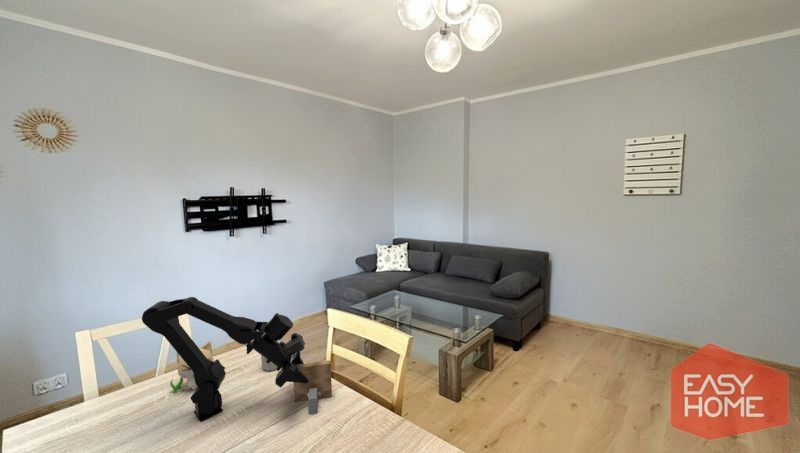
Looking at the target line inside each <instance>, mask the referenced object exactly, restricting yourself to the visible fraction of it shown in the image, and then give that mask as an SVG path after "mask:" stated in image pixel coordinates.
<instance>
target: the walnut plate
mask: <svg viewBox="0 0 800 453" xmlns="http://www.w3.org/2000/svg"><path fill="white" fill-rule="evenodd" d="M331 364H332V362H331V360H321V361H314V362H306V363H305V362H304V364H298V370H299V371H300V372H301V373H302V374H303V375H304V376H305V377H306V378H307V379H308V380H309V381H308V382H307V383H298V382H293V393H294V394H293V395H294V396H293V397H294V403H299V402H306V401H308V394H309V389H311V388H317V392H319V395H320V396H319V397H320V399H327V398H329V399H330V398H333V389H332V388H333V387H332V386H333V385H332V369H331V367H332V365H331ZM296 365H297V364H296ZM296 365H294V366H296Z"/></svg>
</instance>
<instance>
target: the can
mask: <svg viewBox="0 0 800 453" xmlns="http://www.w3.org/2000/svg"><path fill="white" fill-rule="evenodd" d="M277 342H278V343H280V342H282V339H281V340H277ZM260 358H261V368H262V369H263V370H265V371H267V372H271V371H275V370H276V368H277V366H276V365H274V364H273V363H271V362H270V363H269V364H268V363H267V362H266V360H267V359H266V358H265V357H263V356H262V355H261V354H260ZM276 371H277V370H276Z"/></svg>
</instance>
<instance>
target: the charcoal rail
mask: <svg viewBox="0 0 800 453" xmlns="http://www.w3.org/2000/svg"><path fill="white" fill-rule="evenodd" d="M319 394H320V392H317V388H311V389H309V393H308V395H307V401H308V402H307V403H308V404H307V406H308V408H307V409H308V415H313V414H317V413H318V406H319V404H318V403H319Z"/></svg>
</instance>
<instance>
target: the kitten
mask: <svg viewBox="0 0 800 453" xmlns="http://www.w3.org/2000/svg"><path fill="white" fill-rule="evenodd" d="M198 348H199V349H200V350H201V352H202V353H203V354H204V355H205V357H206V358H207V359H208V360H210V361H213V362H214V361H215V360H214V356H213V348H212V341H210V340H208V341H207V342H206V343H205V344H203V345H201V346H200V347H198ZM175 352H176V351H175ZM175 354H176V362H177V373H178V376H179V382H178V383H177V384H176V385H174V383H173V380H174V378H171V381H170V384H169V385H170V387H171V388H172V392H173V393H175V394H176V393H177V392H178V390H180V389H181V387H182V385H183V382H184V379H186V386H187V387H188V388H190V389H192V390H193V391H195V390H196V389H197V385H196V384H195V380H194V374H193V371H192V370H191V369H190V367H189V366H188V365H187V364H186V363H185V361H184V360H183V359H182V358H181V356H180V355H179V354H178V353H177V352H176V353H175Z"/></svg>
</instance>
